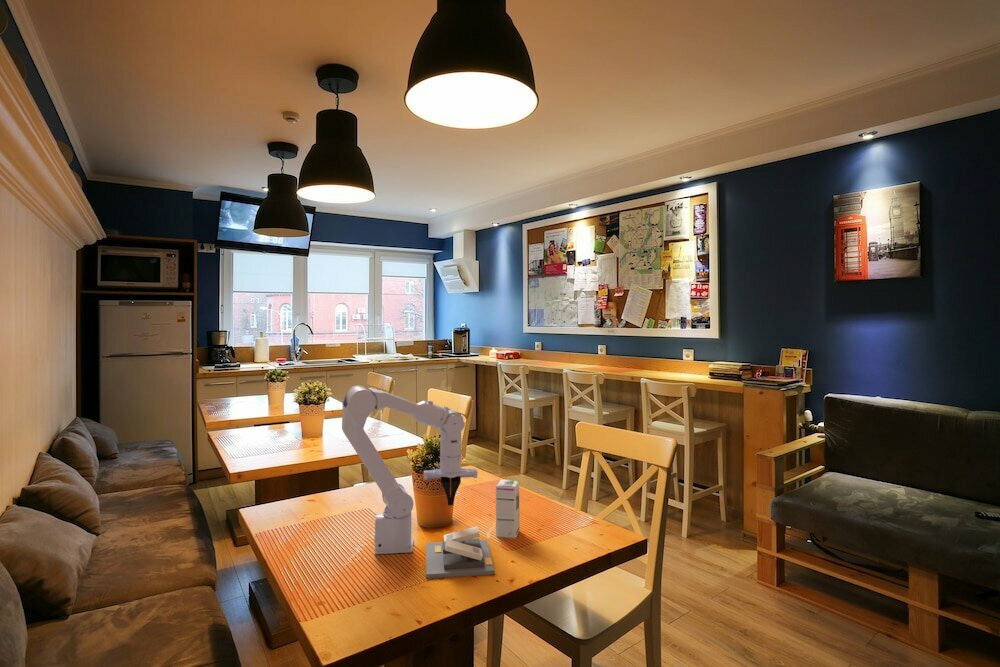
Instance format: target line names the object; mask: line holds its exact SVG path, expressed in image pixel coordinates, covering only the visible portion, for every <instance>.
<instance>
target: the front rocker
mask: <svg viewBox="0 0 1000 667" xmlns="http://www.w3.org/2000/svg"><path fill="white" fill-rule="evenodd" d="M445 550H446V551H448V552H452V553H455V554H459V555H463V556H466V557H470V558H473V559H477V560H480V561H481V560H482V557H483V554H482V550H481V548H477V547H474V546H470V545H467V544H463V543H460V542H456V541H453V540H449V539H446V542H445Z"/></svg>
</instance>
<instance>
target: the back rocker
mask: <svg viewBox="0 0 1000 667" xmlns="http://www.w3.org/2000/svg"><path fill="white" fill-rule="evenodd" d="M479 537H481V536H480V531H479V528H478V525H476V526H473V527H468V528H465V529H461V530H457V531H454V532H450V533H446V534H444V535H443V540H444V543H445V542H446V539H449V540H453V541H456V542H462V541H466V540H469V539H477V538H479Z"/></svg>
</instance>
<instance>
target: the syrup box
mask: <svg viewBox="0 0 1000 667" xmlns="http://www.w3.org/2000/svg"><path fill="white" fill-rule="evenodd" d="M520 528H521V527H520V481H519V480H516V479H500V480H498V483H497V484H496V485H495V536H496V537H497V538H503V537H506V539H517V537H518V534H519V531H520V530H521V529H520Z"/></svg>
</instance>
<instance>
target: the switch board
mask: <svg viewBox="0 0 1000 667" xmlns="http://www.w3.org/2000/svg"><path fill="white" fill-rule="evenodd" d="M460 543H463V544H467V545H470V546H474V547H477V548H481V550H482V554H483V557H482V560H481V561H480V560H477V559H473V558H470V557H466V556H463V555H459V554H455V553H452V552H448V551H446V550H445V543H444V539H443V540H442V541H437V542H436V541H434V542H426V545H425V546H426V548H425V551H426V552H425V553H426V555H425V579H426V580H427V579H440V578H442V579H443V577H444V578H458V577H472V576H473V577H474V576H475V577H476V576H491V575H492V574H496V573H495V572H496V570H495V567H494V562H493V559H492V554H491V551H490V547H489V544H488V540H487V539H480V538H479V537H477V538H473V539H469V540H466V541H462V542H460ZM492 576H493V575H492Z"/></svg>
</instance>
